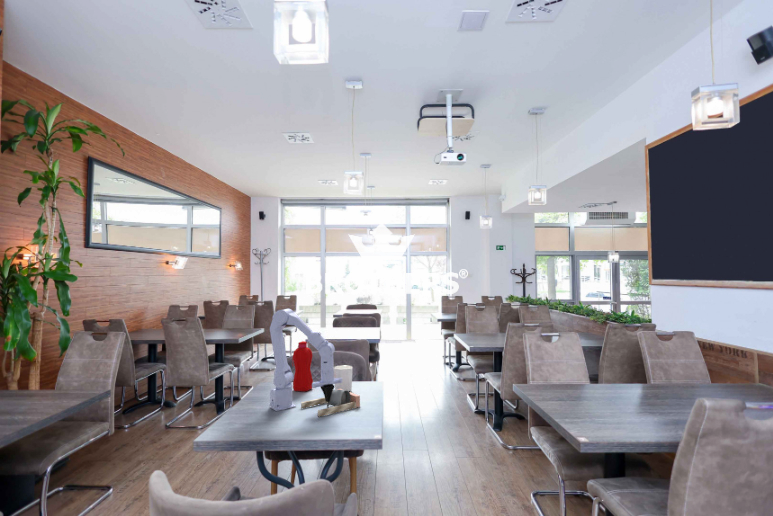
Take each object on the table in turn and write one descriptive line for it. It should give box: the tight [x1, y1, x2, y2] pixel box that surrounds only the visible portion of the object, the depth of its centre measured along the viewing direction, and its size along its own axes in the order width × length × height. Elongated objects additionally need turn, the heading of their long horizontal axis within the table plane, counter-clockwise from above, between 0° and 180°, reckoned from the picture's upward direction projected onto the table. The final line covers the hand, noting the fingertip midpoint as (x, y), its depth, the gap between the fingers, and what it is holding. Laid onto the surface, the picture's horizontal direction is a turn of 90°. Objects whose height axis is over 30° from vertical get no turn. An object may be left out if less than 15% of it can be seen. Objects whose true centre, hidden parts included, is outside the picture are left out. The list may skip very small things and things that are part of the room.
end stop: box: [338, 389, 361, 409], centre depth 196 cm, size 2×16×5 cm, turn 38°
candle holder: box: [334, 365, 354, 392], centre depth 218 cm, size 10×10×12 cm
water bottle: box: [291, 340, 314, 393], centre depth 223 cm, size 9×11×25 cm
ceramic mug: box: [326, 388, 351, 408], centre depth 190 cm, size 11×8×8 cm
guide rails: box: [300, 396, 357, 418], centre depth 190 cm, size 19×16×2 cm
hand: (327, 401), depth 189 cm, fingers closed
